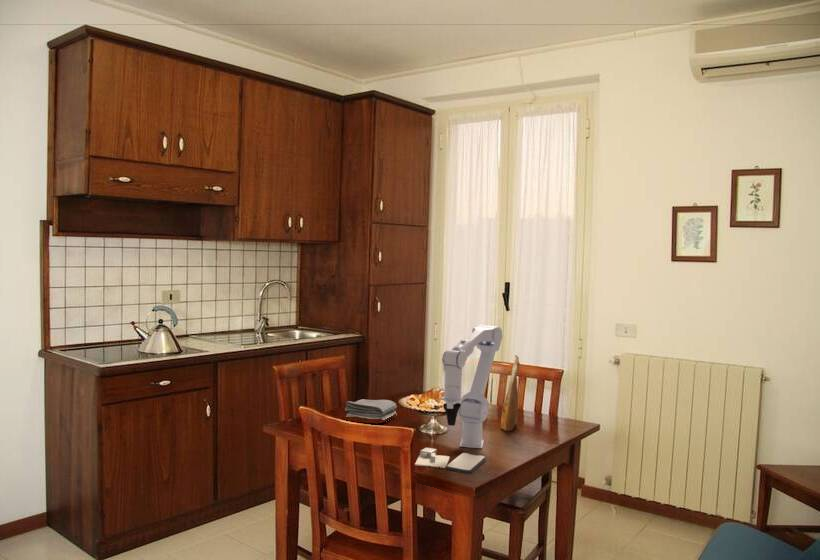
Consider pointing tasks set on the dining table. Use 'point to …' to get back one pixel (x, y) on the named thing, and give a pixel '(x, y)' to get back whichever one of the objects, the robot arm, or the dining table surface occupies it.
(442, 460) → the mat
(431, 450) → the lighter
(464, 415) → the robot arm
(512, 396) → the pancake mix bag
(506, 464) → the dining table surface
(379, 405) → the towel
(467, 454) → the phone case
